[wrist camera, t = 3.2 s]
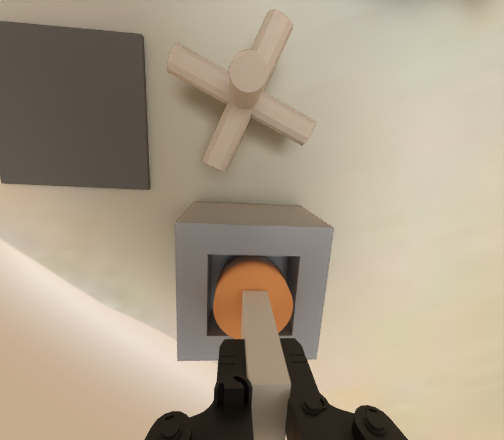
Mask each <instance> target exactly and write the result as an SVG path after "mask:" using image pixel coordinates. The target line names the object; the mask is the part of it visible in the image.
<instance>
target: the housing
mask: <svg viewBox="0 0 504 440" xmlns="http://www.w3.org/2000/svg"><path fill="white" fill-rule="evenodd" d="M333 230H334V228H333V227H332V226H330V225H329V224H327V223H326V222H324V221H323V220H321V219H320V218H318V217H317V216H315V215H314V214H312V213H311V212H309V211H308V210H306V209H305V208H303V207H302V206H288V205H263V204H238V203H213V202H194V203H193V204H192V205H191V206H190V208H189V209H188V210H187V211H186V212H185V213H184V214H183V215H182V216H181V217H180V218H179V219H178V220H177V221H176V222H175V253H176V306H177V355H178V356H177V357H178V361H201V360H202V361H203V360H204V361H210V360H218V359H219V347H220V345H221V344H222V342H223V340H224V339H234V338H232V337H230V336H229V335H227V334H226V333H225V332H224V331H223V330H222V329H221V328H220V327H219V326H218V324H217V322H216V320H215V317H214V312H213V305H214V297H215V290H216V283H217V279H218V277H219V274H220V273H221V271H222V270H223V268H224V267H225V266H226V265H227V264H229V263H230V262H231V261H233V260H235V259H237V258H239V257H243V256H249V255H255V256H261V257H264V258H267V259H269V260H271V261H272V262H273V263H275V264H276V265H277V266H278V267H279V269H280V270H281V272H282V274H283V276H284V278H285V281H286V283H287V285H288V288H289V290H290V292H291V295H292V299H293V310H292V314H291V317H290V320H289V322H288V323H287V325H286V326H285V327H284V328H283V329H282V330H281V331H280V332H279V333H278V335H279V338H295V339H296V340H297V341H298V342H299V343H300V344H301V345H302V348H303V350H304V353H305V356H306V358H307V359H317V351H318V344H319V336H320V329H321V321H322V314H323V306H324V298H325V291H326V283H327V276H328V268H329V260H330V253H331V245H332V238H333Z"/></svg>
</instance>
